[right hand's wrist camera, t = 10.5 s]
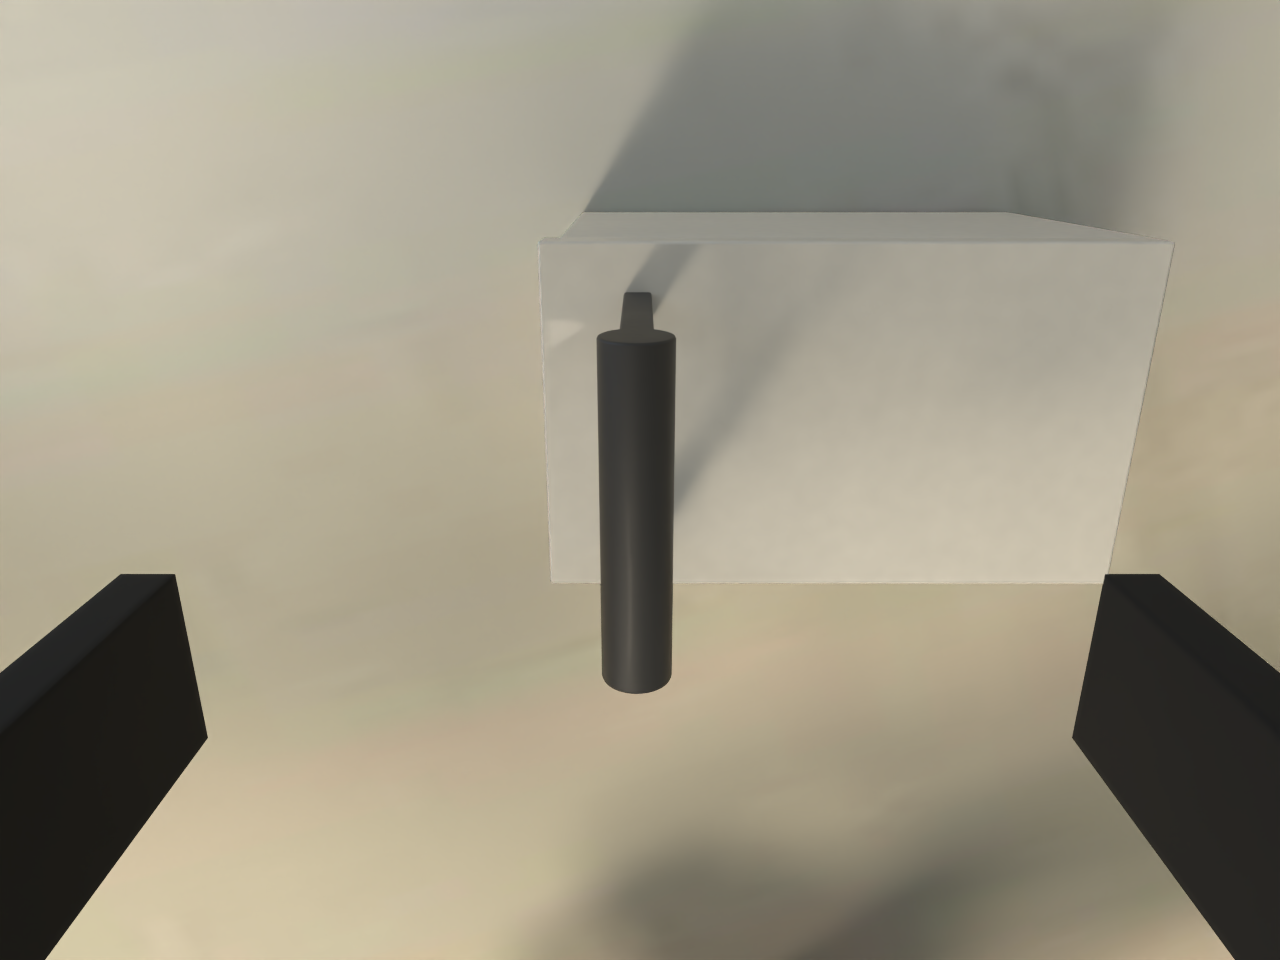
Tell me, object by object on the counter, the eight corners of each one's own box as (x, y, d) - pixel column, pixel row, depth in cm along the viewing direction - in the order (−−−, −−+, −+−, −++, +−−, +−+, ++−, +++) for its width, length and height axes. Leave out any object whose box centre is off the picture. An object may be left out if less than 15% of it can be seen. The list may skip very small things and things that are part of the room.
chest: (587, 459, 36) (569, 566, 27) (582, 212, 32) (559, 236, 23) (973, 459, 36) (1088, 567, 27) (1007, 211, 32) (1151, 237, 23)
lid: (554, 567, 26) (518, 739, 19) (541, 236, 23) (492, 281, 16) (1089, 567, 26) (1272, 739, 19) (1153, 236, 23) (1407, 281, 15)
